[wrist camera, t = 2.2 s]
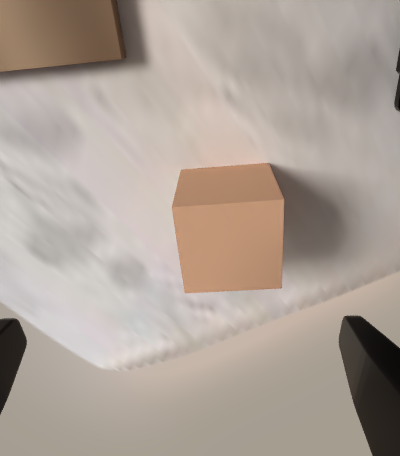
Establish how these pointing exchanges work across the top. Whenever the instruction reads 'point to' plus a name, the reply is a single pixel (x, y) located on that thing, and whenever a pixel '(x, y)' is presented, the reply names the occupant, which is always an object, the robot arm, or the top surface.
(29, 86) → the top surface
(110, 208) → the top surface
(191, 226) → the terracotta cube
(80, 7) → the walnut board
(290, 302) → the top surface
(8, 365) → the robot arm
